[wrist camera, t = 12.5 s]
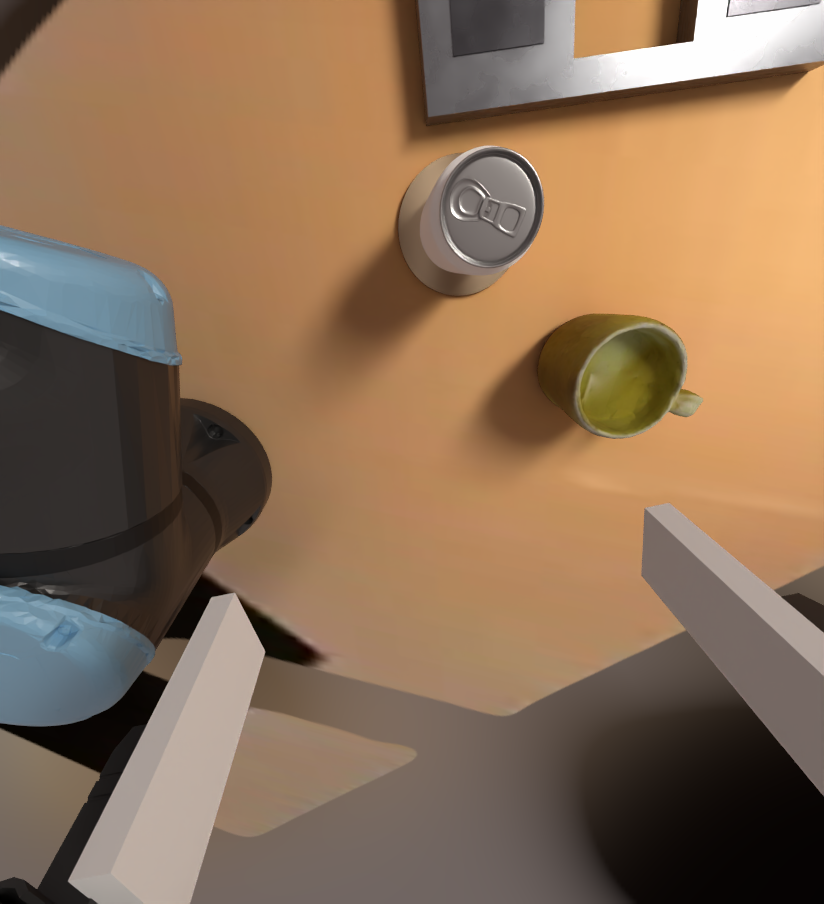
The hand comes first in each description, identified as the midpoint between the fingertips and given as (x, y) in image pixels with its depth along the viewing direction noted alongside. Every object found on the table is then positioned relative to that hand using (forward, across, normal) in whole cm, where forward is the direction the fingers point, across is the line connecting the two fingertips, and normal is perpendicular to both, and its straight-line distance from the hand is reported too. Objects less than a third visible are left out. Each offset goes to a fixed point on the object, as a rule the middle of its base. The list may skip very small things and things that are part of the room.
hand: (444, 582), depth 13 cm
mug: (+27, +18, -3) cm, 33 cm away
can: (+27, +7, +11) cm, 30 cm away
